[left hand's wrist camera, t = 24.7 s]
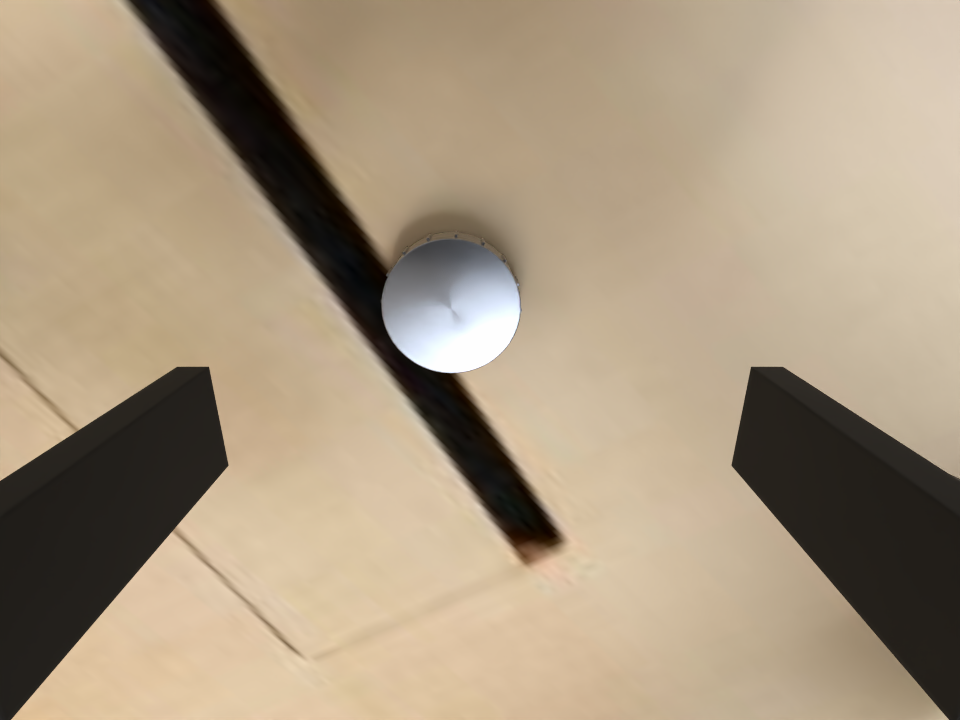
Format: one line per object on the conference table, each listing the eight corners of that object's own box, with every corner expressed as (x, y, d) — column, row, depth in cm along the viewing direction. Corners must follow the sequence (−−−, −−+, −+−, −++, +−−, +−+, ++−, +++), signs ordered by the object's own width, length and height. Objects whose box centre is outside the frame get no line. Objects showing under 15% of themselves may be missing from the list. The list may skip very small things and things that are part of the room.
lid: (544, 286, 20) (551, 297, 19) (464, 380, 22) (464, 398, 20) (439, 201, 19) (436, 205, 17) (361, 308, 20) (352, 321, 19)
